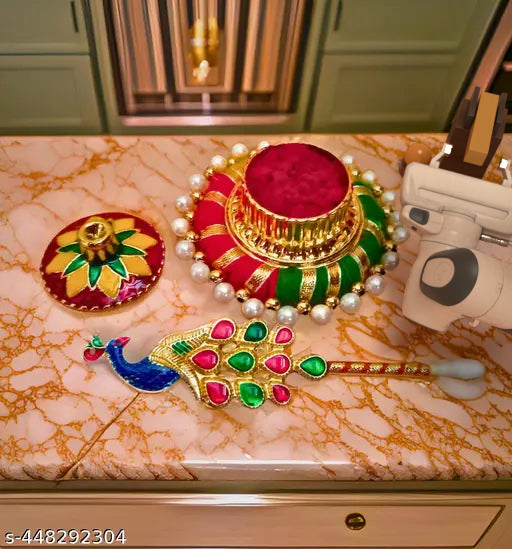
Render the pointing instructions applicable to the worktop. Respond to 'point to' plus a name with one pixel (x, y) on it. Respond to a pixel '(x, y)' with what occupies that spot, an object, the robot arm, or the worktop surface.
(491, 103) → the pull rod
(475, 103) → the switch pillar
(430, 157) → the night lamp
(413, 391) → the worktop surface
